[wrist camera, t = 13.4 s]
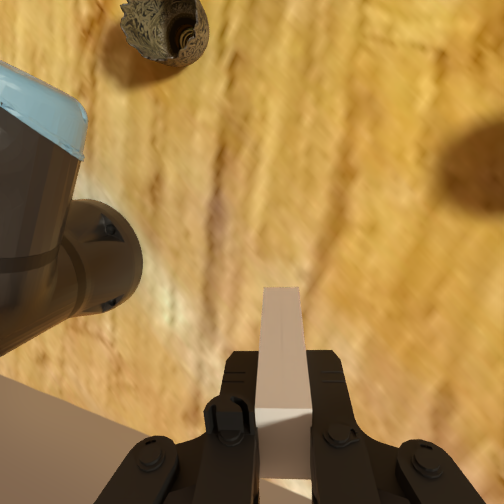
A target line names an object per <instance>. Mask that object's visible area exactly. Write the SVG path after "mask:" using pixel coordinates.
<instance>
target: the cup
mask: <svg viewBox="0 0 504 504" xmlns="http://www.w3.org/2000/svg"><path fill="white" fill-rule="evenodd" d="M127 2H128V4H122V5H120V7H121V9H122V11H123V12H124V17H123V18H122V19H121V23H120V26H121V28H122V30H123V32H124V33H125V35H126V37H127V38H126V41H127V42H128V44H129V45H131V46H133V47H135V48H136V49H137V50H138V52H139V53H140V54H142V55H141V56H142V57H144V58H147V59H150V60H153V61H156V62H159V63H162V64H165V65H169V66H175V67H182V66H187V65H190V64H192V63H194V62H195V61H197V60H198V59H199V58H200V57H201V56H202V54H203V53H204V51H205V49H206V47H207V44H208V39H209V24H208V20H207V16H206V13H205V11H204V9H203V7H202V5H201V3H200V1H199V0H127ZM190 35H194V36H193V37H191V38H189V40H188V41H187V45H185V42H186V39H187V37H188V36H190Z"/></svg>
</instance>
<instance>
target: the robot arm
mask: <svg viewBox="0 0 504 504" xmlns="http://www.w3.org/2000/svg"><path fill="white" fill-rule="evenodd" d="M87 128H88V117H87V113H86V111H85V109H84V107H83V106H82V105H81V104H80V102H79V101H77V100H76V99H75V98H73V97H72V96H70V95H68V94H67V93H65V92H63V91H61V90H59V89H57V88H56V87H54V86H52V85H50V84H48V83H46V82H44V81H42V80H40V79H38V78H36V77H34V76H32V75H30V74H28V73H26V72H24V71H22V70H20V69H18V68H16V67H14V66H12V65H10V64H8V63H6V62H4V61H2V60H0V357H1V356H3V355H5V354H6V353H8V352H10V351H12V350H13V349H15V348H17V347H19V346H20V345H22V344H24V343H26V342H27V341H29V340H31V339H33V338H34V337H36V336H38V335H40V334H41V333H43V332H45V331H47V330H48V329H50V328H52V327H54V326H55V325H57V324H59V323H61V322H62V321H64V320H66V319H68V318H71V317H78V316H86V315H94V314H100V313H104V312H107V311H110V310H112V309H114V308H115V307H117V306H119V305H120V304H122V303H123V302H125V301H126V300H127V299H129V298H130V297H131V296H132V294H133V293H134V292H135V290H136V288H137V287H138V284H139V282H140V279H141V275H142V269H143V259H142V251H141V247H140V244H139V241H138V238H137V236H136V234H135V232H134V230H133V229H132V227H131V226H130V224H129V223H128V222H127V220H126V219H125V218H124V217H123V216H122V215H121V214H120V213H119V212H117V211H116V210H115V209H113V208H112V207H110V206H108V205H107V204H104V203H102V202H99V201H96V200H91V199H79V200H72V196H73V192H74V188H75V184H76V180H77V176H78V172H79V167H80V163H81V161H84V155H83V149H84V144H85V138H86V133H87ZM203 412H204V419H205V426H206V432H205V433H204V434H202V435H201V436H199V437H198V438H195V439H193V440H190V441H186V442H183V443H179V444H176V445H175V444H174V442H173V441H172V440H171V439H169V438H167V437H165V436H152V437H148V438H145V439H144V440H142V441H140V442H139V443H137V444H136V445H135V446H134V447H133V448H132V449H131V450H130V452H129V453H128V454H127V456H126V457H125V459H124V460H123V462H122V463H121V465H120V466H119V467H118V469H117V470H116V472H115V473H114V475H113V476H112V478H111V479H110V481H109V482H108V484H107V485H106V487H105V488H104V489H103V491H102V492H101V494H100V495H99V497H98V498H97V500H96V501H95V502H94V504H259V503H260V497H259V478H276V479H311V481H312V504H486V503H485V502H484V500H483V499H482V498H481V496H480V495H479V494H478V492H477V491H476V490H475V488H474V487H473V486H472V484H471V483H470V482H469V480H468V479H467V478H466V476H465V475H464V474H463V473H462V471H461V470H460V469H459V467H458V466H457V465H456V463H455V462H454V461H453V459H452V458H451V457H450V456H449V455H448V454H447V453H446V452H445V451H444V450H443V449H442V448H440V447H438V446H437V445H435V444H433V443H431V442H428V441H424V440H421V439H417V440H409V441H406V442H404V443H402V445H401V446H400V447H399V448H397V447H393V446H390V445H387V444H384V443H381V442H378V441H376V440H374V439H372V438H371V437H369V436H367V435H366V434H365V433H364V432H363V431H362V430H361V429H360V428H359V426H358V425H357V423H356V420H355V418H354V414H353V409H352V405H351V401H350V397H349V393H348V389H347V385H346V381H345V376H344V374H343V368H342V364H341V360H340V359H339V358H338V356H337V355H336V354H335V353H334V352H333V350H306V348H305V339H304V330H303V321H302V312H301V304H300V295H299V287H264V291H263V304H262V318H261V331H260V344H259V351H234V352H233V353H232V354H231V355H230V357H229V358H228V359H227V360H226V365H225V370H224V375H223V380H222V385H221V390H220V395H219V396H216V397H214V398H213V399H212V400H211V401H210V402H209V403H207V405H206V407H205V409H204V411H203Z"/></svg>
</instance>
